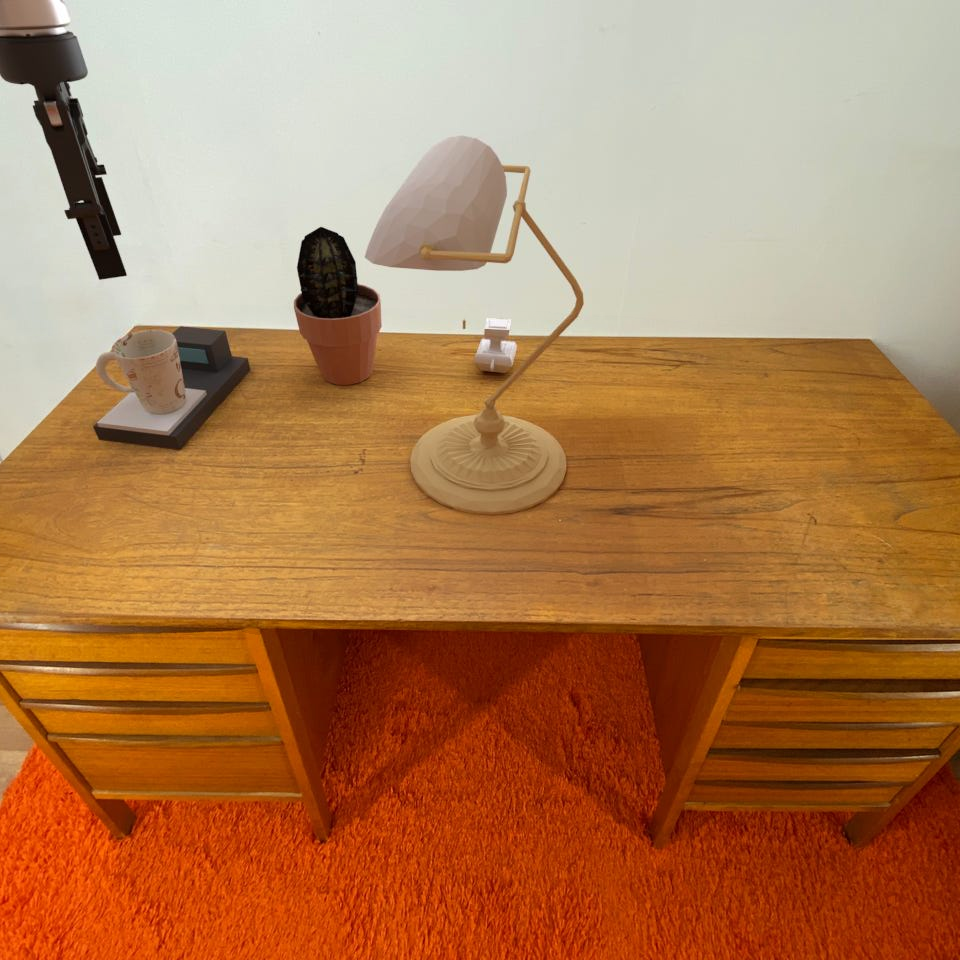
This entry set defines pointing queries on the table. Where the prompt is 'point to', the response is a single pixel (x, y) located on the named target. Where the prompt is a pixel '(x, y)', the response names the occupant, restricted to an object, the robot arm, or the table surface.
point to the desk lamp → (457, 247)
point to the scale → (205, 385)
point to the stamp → (496, 347)
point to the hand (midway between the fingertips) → (111, 255)
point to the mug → (148, 369)
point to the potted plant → (336, 309)
